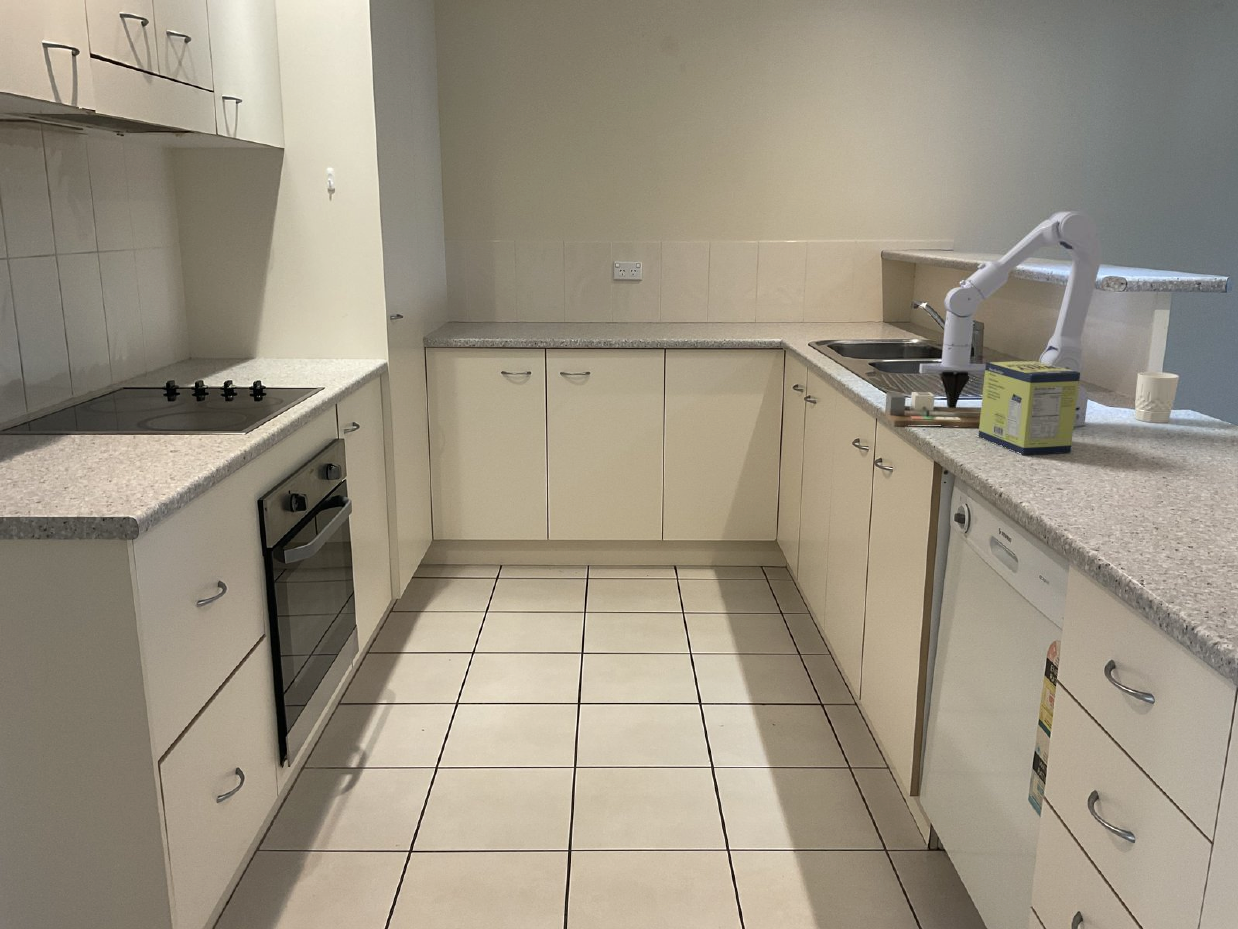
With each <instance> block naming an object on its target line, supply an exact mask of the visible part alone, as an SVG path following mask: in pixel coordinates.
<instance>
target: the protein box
mask: <svg viewBox="0 0 1238 929" xmlns="http://www.w3.org/2000/svg"><path fill="white" fill-rule="evenodd" d="M985 365H986V367H985V374H984V378H983V385H982V386H983V388H982V396H981V405H980V406H981V415H980V425H979V428H978V436H979V437H981V438H984V439H986V440H988V441H987V442H989V441H990V442H989V443H991V442H994V443H996V444H998V445H1002V446H1003V447H1006V448H1007V449H1006V448H1005V449H1006V450H1008V449H1011V450H1013V451H1015V452H1014V453H1016V452H1019V453H1021V454H1023V455H1022V456H1028V455H1027V454H1030V455H1029V456H1032V455H1031V454H1036V455H1048V454H1068V453H1069V452H1070V453H1072V446H1073V445H1072V444H1073V435H1074V428H1075V427H1074V420H1075V412H1076V404H1077V396H1078V388H1079V386H1080V378H1081V374H1080V372H1077V371H1073V370H1068V369H1064V368H1060V367H1056V366H1052V365H1047V364H1043V363H1039V361H1036V360H1032V359H1031V360H1005V361H1001V360H1000V361H999V360H998V361H985ZM979 437H978V438H979ZM981 438H980V439H981ZM984 439H983V440H984ZM986 440H985V441H986ZM994 443H993V444H994ZM996 444H995V445H996ZM998 445H997V446H998ZM1003 447H1002V448H1003ZM1011 450H1010V451H1011ZM1013 451H1012V452H1013ZM1067 452H1068V453H1067ZM1070 453H1069V454H1070Z"/></svg>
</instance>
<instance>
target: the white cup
mask: <svg viewBox="0 0 1238 929" xmlns="http://www.w3.org/2000/svg"><path fill="white" fill-rule="evenodd" d="M1179 379H1180V376H1179V375H1178V374H1174V373H1171V372H1170V373H1169V372H1159V371H1140V372H1137V377H1136V389H1135V402H1134V405H1135V409H1134V417H1133V418H1134V419H1135V420H1137V421H1140V422H1145V423H1151V424H1152V423H1153V424H1155V423H1157V424H1164V423H1169V421H1170V418H1171V413H1172V410H1173V405H1174V404H1175V398H1176V393H1177V388H1178V383H1179Z"/></svg>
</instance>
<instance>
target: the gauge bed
mask: <svg viewBox="0 0 1238 929" xmlns="http://www.w3.org/2000/svg"><path fill="white" fill-rule="evenodd" d="M884 416H885V417H886V418H887V420H888V421H889V422H890V423H891V424H892V425H893V427H909V426H908V425H941V426H958V427H957V428H962V427H970V429H971V428H973V429H976V428H977V429H979V425H980V417H958V418H960V419H961V421H952V420H913V419H912V418H911V417H910V416H898V415H889V414H888V413H887V411H886V410H885V409H884ZM932 417H937V416H932Z"/></svg>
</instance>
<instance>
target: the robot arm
mask: <svg viewBox="0 0 1238 929" xmlns="http://www.w3.org/2000/svg"><path fill="white" fill-rule="evenodd" d="M1057 245H1060V247H1063V248H1064V250H1065V251H1066V253H1068V255H1069V256H1070V257H1071V258H1072V264H1071V268H1070V271H1069V275H1068V279H1067V282H1066V283H1067V284H1066V287H1065V291H1064V296H1063V298H1062V302H1061V306H1060V311H1059V314H1058V317H1057V322H1056V326H1055V330H1054V333H1053V335H1052V336H1051V337H1050V338H1049V341H1048V342H1047V346H1046V348H1045V350H1044V351H1043V352H1042V354H1040V357H1039V360H1038V362H1039V363H1043V364H1047V365H1052V366H1056V367H1060V368H1064V369H1068V370H1073V371H1077V372H1080V375H1081V374H1082V372H1083V362H1082V353H1083V345H1082V340H1081V337H1082V335H1083V332H1084V326H1085V323H1086V319H1087V315H1088V312H1089V308H1090V304H1091V300H1092V296H1093V293H1094V289H1095V286H1096V281H1097V278H1098V273H1099V270H1100V266H1101V262H1102V258H1103V252H1104V251H1103V249H1102V245H1101V242H1100V239H1099V236H1098V233H1097V224H1096V223H1095V221H1093V219H1092V218H1091V217H1090V216H1089V215H1088V214H1087V213H1085V212H1082V211H1078V210H1074V211H1068V210H1060V211H1056V212H1055V213H1054V214H1052V215H1051V216H1050V217H1049V218H1048V219H1046V220H1043V221H1042V222H1041V223H1040V224H1038V225H1037V226H1036V227H1035V228H1034V229H1032V231H1030V232H1029V233H1028V234H1027V235H1026V236H1024V237H1023V239H1022V240H1020V241H1019V242H1018V243H1017V244H1016V245H1014V247H1012V248H1011V249H1010V250H1009V251H1008V252H1007V253H1006V254H1005V255H1003V256H1002V257H1001V258H1000V259H999V260H998V261H991V260H989V261H987V262H986V263H984V262H981V263H980V264H979V265H978V266H977V268H978V269H977V270H976V271H975V272H974V273H973V274H972V275H970V276H969V277H968V278H966V279H965V280H964V279H962V280H960V282H959V285H960V286H958V287H954V288H952V289H950V290H949V291H948V292H947V294H946V296H945V299H943V305H944V308H945V309H946V315H945V322H944V329H943V330H944V332H943V342H942V343H943V344H942V353H941V362H934V363H919V373H920V374H921V375H926V374H937V375H938V374H939V377H940V380H941V382H942V386H943V389H944V392H945V398H946V407H949V408H956V407H957V404H958V401H959V399H960V396H961V393H962V391H963V389H964V388H965V387H966V385H967V383H968V382H969V380H970V376H969V375H985V367H986V364H982V363H980V364H979V363H970V361H971V353H972V341H973V332H974V330H973V329H974V313H976V312H977V310H978V308H979V306H980V303H982V302H984V301H985V300H986V299H988V298H989V297H990V296H991V295H992V294H994V293H995V292H996V291H998V290H999V289H1000V288H1001V287H1003V285H1005V284H1006V283H1007V282H1008V277H1009V274H1010V272H1011V271H1013V270H1014V269H1015V268H1017V267H1018V266H1019V265H1021V264H1022V263H1023V262H1024V261H1026V260H1027V259H1029V258H1030V257H1031V256H1033V255H1034V254H1035V253H1037V252H1038V251H1039V250H1041V249H1042V248H1047V247H1052V246H1053V247H1054V246H1057ZM1088 399H1089V394H1088V391H1087V389H1086V388H1085V387H1083V386H1082V385H1079V388H1078V396H1077V404H1076V412H1075V420H1074V428H1075V427H1082V426H1087V425H1088V422H1086V417H1087V416H1086V415H1087V407H1088V401H1089V400H1088Z"/></svg>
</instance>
